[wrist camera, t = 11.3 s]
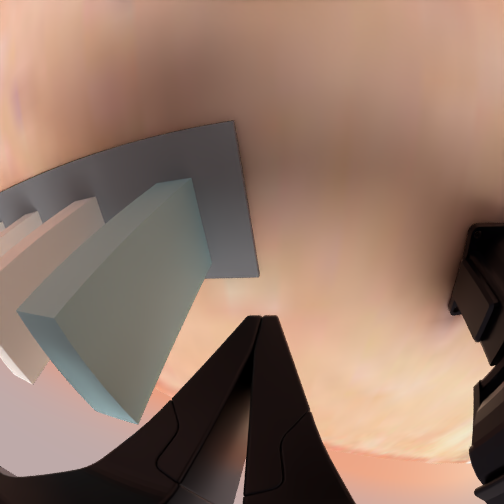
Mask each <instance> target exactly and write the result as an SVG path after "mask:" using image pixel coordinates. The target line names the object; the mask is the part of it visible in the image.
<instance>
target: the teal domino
mask: <svg viewBox="0 0 504 504" xmlns="http://www.w3.org/2000/svg"><path fill="white" fill-rule="evenodd" d="M211 264H212V261H211V257H210V253H209V249H208V245H207V241H206V237H205V233H204V229H203V225H202V221H201V217H200V213H199V208H198V204H197V200H196V196H195V191H194V187H193V182H192V178H186V179H180V180H173V181H167V182H161V183H156V184H155V185H154V186H152V187H151V188H150V189H148V190H147V191H146V192H144V193H143V194H142V195H141V196H139V197H138V198H137V199H135V200H134V201H133V202H132V203H130V204H129V205H128V206H126V207H125V208H124V209H123V210H122V211H120V212H119V213H118V214H117V215H115V216H114V217H113V218H112V219H111V220H109V221H108V222H107V223H106V224H105V225H103V226H102V227H101V228H100V229H99V230H98V231H96V232H95V233H94V234H93V235H92V236H91V237H89V238H88V239H87V240H86V241H85V242H84V243H83V244H82V245H81V246H79V247H78V248H77V249H76V250H75V251H74V252H73V253H72V254H71V255H70V256H69V257H68V258H66V259H65V260H64V261H63V262H62V263H61V264H60V265H59V266H58V267H57V268H56V269H55V270H54V271H53V272H52V273H51V274H50V275H49V276H48V277H47V278H46V279H45V280H44V281H43V282H42V283H41V284H40V285H39V286H38V287H37V288H36V289H35V290H34V291H33V292H32V293H31V295H30V296H29V297H28V298H27V299H26V300H25V301H24V302H23V303H22V304H21V305H20V306H19V308H18V309H17V310H16V311H17V313H18V315H19V316H20V318H21V319H22V321H23V322H24V324H25V325H26V327H27V328H28V330H29V331H30V333H31V334H32V336H33V337H34V339H35V340H36V341H37V343H38V344H39V345H40V347H41V348H42V350H43V351H44V352H45V354H46V355H47V356H48V357H49V359H50V360H51V361H52V363H53V364H54V365H55V366H56V367H57V369H58V370H59V371H60V372H61V374H62V375H63V376H64V377H65V378H66V379H67V381H68V382H69V383H70V384H71V385H72V386H73V387H74V388H75V390H76V391H77V392H78V393H79V394H80V395H81V396H82V397H83V398H84V399H85V400H86V401H87V403H88V404H90V406H91V407H92V408H93V409H94V410H95V411H97V412H100V413H103V414H106V415H109V416H111V417H115V418H118V419H121V420H124V421H127V422H131V423H134V424H139V422H140V419H141V417H142V415H143V412H144V410H145V407H146V405H147V403H148V401H149V398H150V396H151V394H152V391H153V389H154V387H155V385H156V382H157V380H158V378H159V376H160V373H161V371H162V369H163V367H164V364H165V362H166V360H167V358H168V355H169V353H170V351H171V349H172V347H173V344H174V342H175V340H176V338H177V336H178V334H179V331H180V329H181V327H182V325H183V323H184V321H185V319H186V316H187V314H188V312H189V310H190V308H191V306H192V304H193V302H194V299H195V297H196V295H197V293H198V291H199V289H200V287H201V285H202V283H203V281H204V279H205V276H206V274H207V272H208V270H209V268H210V266H211Z"/></svg>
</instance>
